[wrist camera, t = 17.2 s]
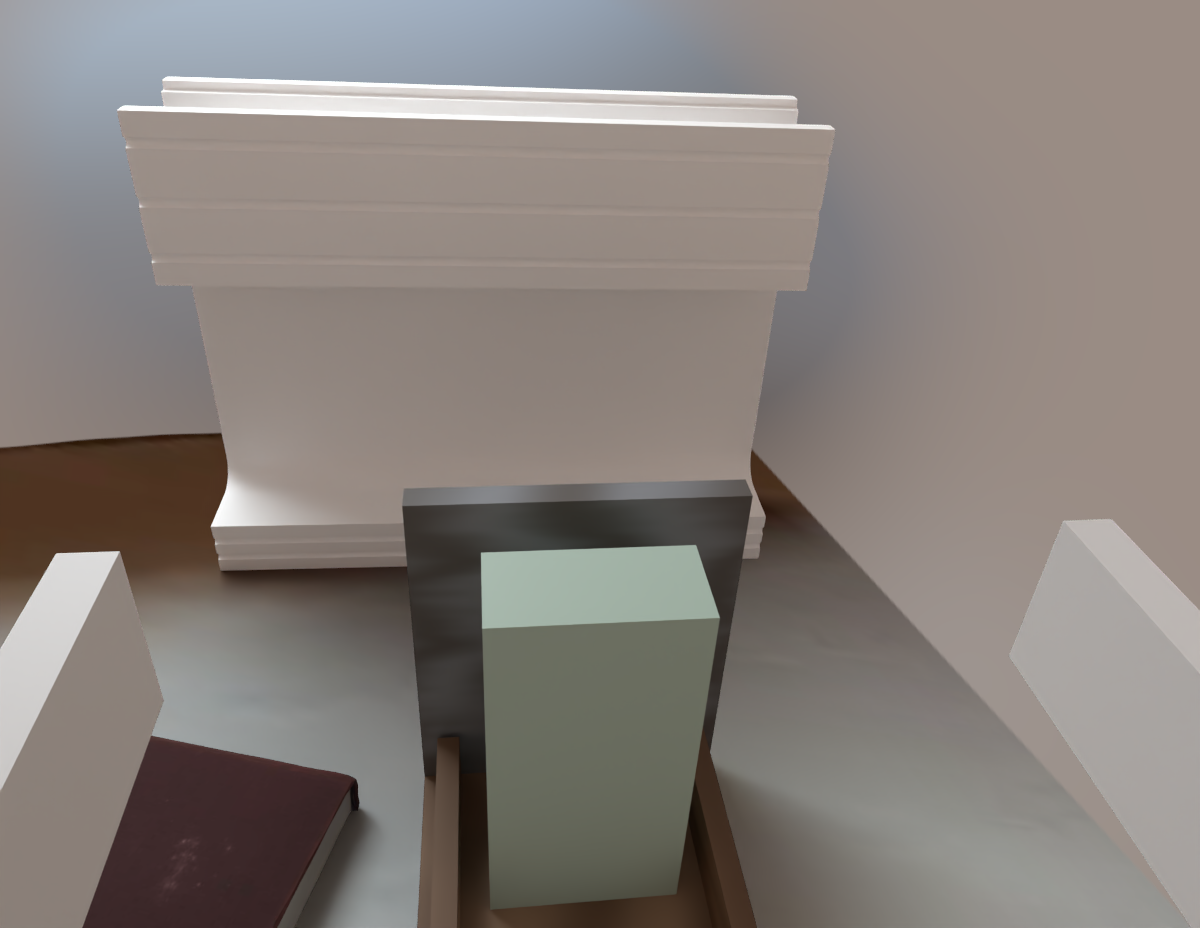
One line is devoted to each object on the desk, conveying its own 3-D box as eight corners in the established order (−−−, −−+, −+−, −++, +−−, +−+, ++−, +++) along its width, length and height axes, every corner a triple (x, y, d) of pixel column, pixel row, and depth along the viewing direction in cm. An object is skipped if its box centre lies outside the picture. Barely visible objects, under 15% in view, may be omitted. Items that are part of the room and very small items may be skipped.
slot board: (414, 1055, 36) (376, 749, 26) (427, 776, 46) (404, 488, 37) (767, 1019, 37) (852, 720, 28) (700, 758, 48) (745, 479, 39)
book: (11, 736, 48) (-9, 692, 46) (363, 809, 45) (357, 765, 43) (-211, 975, 38) (-248, 929, 36) (229, 1087, 35) (214, 1044, 33)
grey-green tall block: (490, 909, 39) (482, 628, 30) (488, 827, 42) (480, 552, 34) (676, 894, 40) (719, 617, 31) (660, 814, 43) (695, 545, 35)
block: (732, 490, 69) (793, 96, 54) (758, 558, 62) (835, 129, 47) (249, 497, 66) (167, 76, 50) (220, 570, 59) (116, 110, 44)
